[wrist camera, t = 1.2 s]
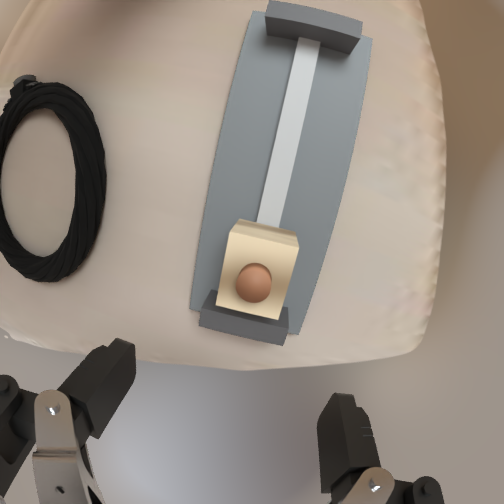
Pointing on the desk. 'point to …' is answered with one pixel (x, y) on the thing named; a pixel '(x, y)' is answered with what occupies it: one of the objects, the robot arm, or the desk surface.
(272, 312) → the keeper
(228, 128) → the rail board
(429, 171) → the desk surface
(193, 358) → the desk surface
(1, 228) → the cable lock
